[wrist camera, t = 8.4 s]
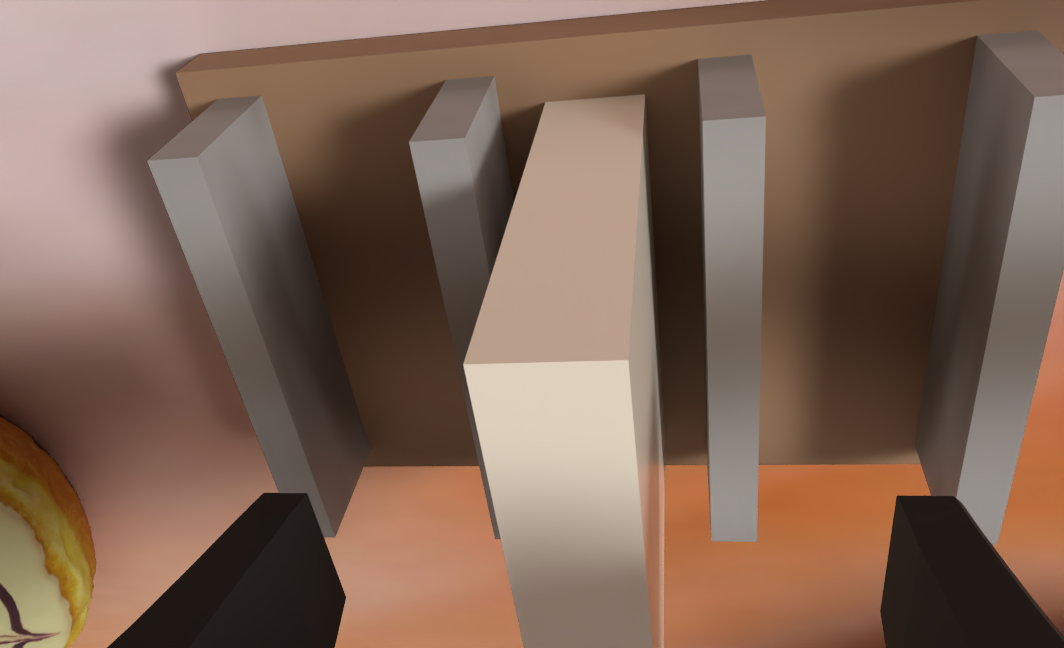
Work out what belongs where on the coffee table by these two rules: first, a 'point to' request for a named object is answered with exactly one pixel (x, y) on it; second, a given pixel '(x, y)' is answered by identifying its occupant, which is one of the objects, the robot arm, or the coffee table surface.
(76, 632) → the decorated donut
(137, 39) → the coffee table surface
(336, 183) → the dish rack
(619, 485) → the upright cream panel
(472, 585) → the coffee table surface
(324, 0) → the coffee table surface
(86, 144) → the coffee table surface
